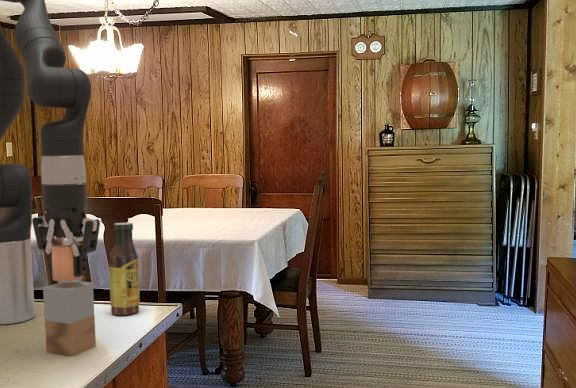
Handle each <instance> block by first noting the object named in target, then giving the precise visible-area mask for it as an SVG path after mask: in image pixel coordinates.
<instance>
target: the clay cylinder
mask: <svg viewBox="0 0 576 388" xmlns="http://www.w3.org/2000/svg"><path fill="white" fill-rule="evenodd" d="M54 244H55V243H54ZM78 245H79V243H78ZM79 248H80V245H79ZM51 250H52V274H51V275H52V281H55V282H63V281H79V280H81V279H84V276H81V277H75V276H74V262H73V257H74V256H75V255H74V253H73V250H72V247H71V245H69V244H68V242H64V243H63V242H62V244H55V245H53V246H51Z"/></svg>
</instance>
